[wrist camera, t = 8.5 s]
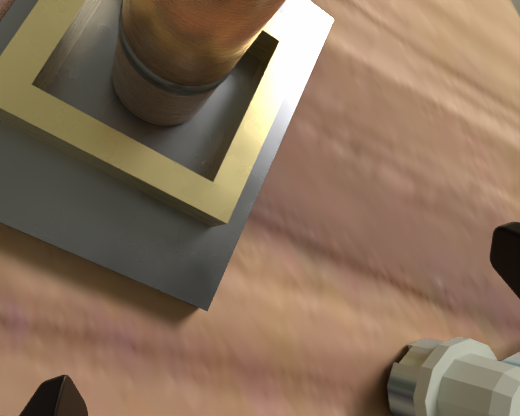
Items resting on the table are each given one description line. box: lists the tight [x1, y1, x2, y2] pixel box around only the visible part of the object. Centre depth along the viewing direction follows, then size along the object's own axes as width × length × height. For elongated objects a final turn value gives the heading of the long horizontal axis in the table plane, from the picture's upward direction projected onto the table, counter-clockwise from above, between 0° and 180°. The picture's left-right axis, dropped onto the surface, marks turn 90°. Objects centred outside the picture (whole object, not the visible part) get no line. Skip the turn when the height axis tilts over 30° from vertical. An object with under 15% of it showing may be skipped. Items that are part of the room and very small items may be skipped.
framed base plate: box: [0, 0, 334, 311], centre depth 18 cm, size 16×12×3 cm
